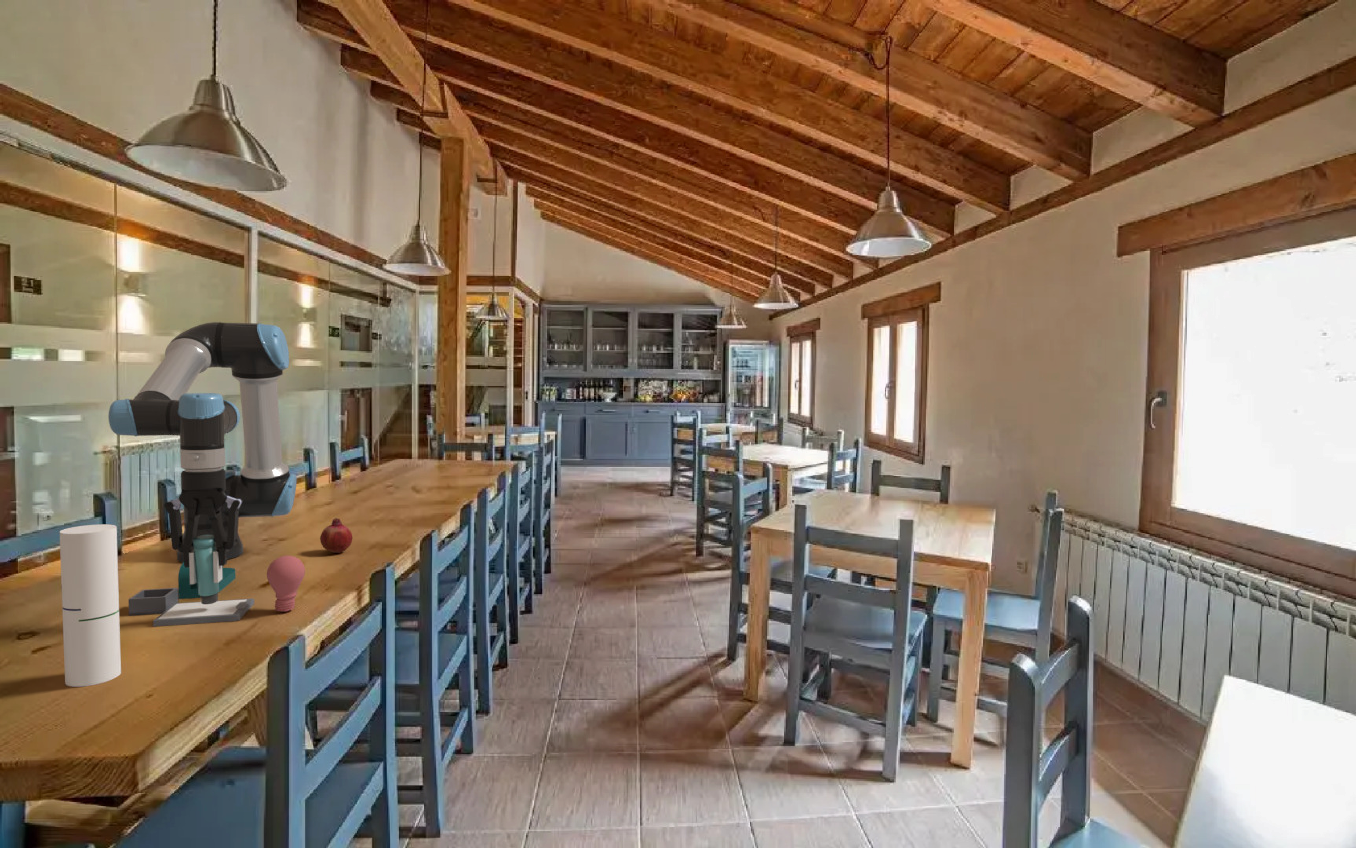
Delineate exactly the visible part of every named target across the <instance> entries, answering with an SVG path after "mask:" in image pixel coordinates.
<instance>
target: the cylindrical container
mask: <svg viewBox="0 0 1356 848" xmlns="http://www.w3.org/2000/svg"><path fill="white" fill-rule="evenodd" d="M117 530H118V529H117V525H114V524H106V523H105V524H104V523H103V524H86V525H79V526H72V527H68V528H65V529H61V530H60V531H59V549H60V550H59V551H60V552H59V553H60V579H61V580H60V581H61V605H62V608H61V609H62V633H63V634H62V635H63V655H64V656H63V657H64V659H63V660H64V662H63V663H64V684H65V686H68V687H72V688H73V687H74V688H77V687H78V688H79V687H88V686H94V685H99V684H103V683H106V682H109V681H111V680H113V679H115V678H117V677H119V676H120V675H121V674H122V665H121V664H122V663H121V660H122V659H121V658H122V657H121V633H120V632H121V629H120V602H119V601H120V599H119V598H120V597H119V595H120V594H119V567H118V566H119V564H118V562H119V561H118V535H117Z"/></svg>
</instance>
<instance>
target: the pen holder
mask: <svg viewBox="0 0 1356 848" xmlns="http://www.w3.org/2000/svg"><path fill="white" fill-rule="evenodd" d="M175 603H179V592H178V587H170V588H167V587H165V588H151V589H141V590H140V591H138V592H137V593H135V594H134V595H132V596H131V597H129V598H128V616H130V617H132V616H142V615H143V616H145V615H158V614H159V615H161V614H162V613H163V612H165V611H166V610H167V609H168V608H170V607H171V606H172V605H174V604H175Z"/></svg>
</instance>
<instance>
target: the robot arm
mask: <svg viewBox="0 0 1356 848" xmlns="http://www.w3.org/2000/svg"><path fill="white" fill-rule="evenodd" d="M288 346H289V345H288V342H287V339H286V336H285V334H284V332H283V330H282V328H281V327H279V326H278V325H274V324H266V323H265V324H264V323H258V322H257V323H253V322H252V323H251V322H250V323H249V322H248V323H247V322H244V323H243V322H221V321H220V322H217V321H212V322H205V323H202V324H199V325H196V326H193V327H191V328H189V329H186V330H185V331H183V332H181V333H180V334H178V335H177V336H175V337H174V338H173V339H172V340H171V341H170V342H169V344H168V345H167V346H166V348H165V351H164V352H165V353H164V356H165V357H164V358H163V359H162V361H161V362H160V363H159V365H158V366H157V368H156V369H155V370H154V372H153V373H152V374H151V375H150V377H149V379H148V380H147V381H146V382H145V383H144V385H143V386H142V387H141V389H140V390H139V391H138V393H137V394H136V395H135V397H134V398H133V399H129V398H125V399H117V400H114V401H113V402H112V403H111V404H110V406H109V410H108V424H109V427H110V430H111V432H113V434H116V435H119V436H130V437H131V436H132V437H139V436H140V437H142V436H143V437H144V436H148V437H149V436H151V437H152V436H153V437H154V436H179V446H180V447H179V448H180V449H179V451H180V452H179V454H180V456H179V457H180V469H183V470H182V471H181V472H180V488H181V490H180V491H181V492H180V494H179V496H178V498H176V499H170V500H169V501H166V502H165V503H164V505H163V506H164V509H166V512H167V513H168V520H169V529H170V540H171V548H172V550H174V551H176V557H177V558H176V560H177V561H179V562H181V563H183V562H184V566H185V568H186V567H189V568H190V584H195V583H196V582H197V572H196V561H195V551H194V546H193V539H194V538H195V537H198V536H202V535H214V538H215V542H216V545H215V546H216V550H215V551H214V552H213V571H214V583H218V582H220V581H221V580H222V566H223V567H224V566H226V565H227V563H228V560H230V559H234V558H237V557H240V556H242V555H243V554H244V544H243V542H242V540H241V537H240V534H239V518H254V517H255V518H257V517H258V518H259V517H263V518H264V517H271V518H273V517H278V516H286V515H289V513H290V512H291V511H292V508H293V505H294V502H295V497H296V491H297V475H296V474H294V473H290V468H289V466H288V465H287V464H285V463H284V462H283V454H282V439H281V437H282V436H281V424H280V410H279V409H280V408H279V406H280V405H279V395H278V393H279V392H278V380H279V379H280V378H281V377H282V376H283V374H284V370H287V369H288V368H289V366H290V358H289V357H290V356H289V355H290V352H289V347H288ZM210 368H224V369H231V376H232V377H233V378H234V379H235V380H237V381H238V383H239V391H240V393H239V394H240V403H241V413H240V410H239V408H238V407H237V406H236V404H234V403H233V402H232V401H229V400H225V399H224V398H223V395H222V394H220V393H215V392H214V393H213V392H194V393H193V392H191V393H188V391H189V389H190V388H191V386H193V383H194V381H195V380H196V379H197V377H198V376H199V374H202V373H204V372H205V371H206V370H208V369H210ZM241 418H242V428H243V429H242V431H243V439H244V451H245V452H244V453H245V462H246V463H245V464H246V465H245V466H244V467H243V468H242V469H241V470H240V475H239V474H238V475H236V472H235V471H234V469H224V467H225V466H226V457H225V456H226V452H225V435H226V434H229V433H231V432H232V431H233V430H234V429H235V428H237V426H238V425H239V423H240V421H241ZM182 506H183V521H184V522H183V524H184V525H182V515H181V510H180V509H181V508H182ZM183 527H184V528H183ZM183 529H184V531H183Z"/></svg>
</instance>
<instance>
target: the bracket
mask: <svg viewBox="0 0 1356 848" xmlns="http://www.w3.org/2000/svg"><path fill="white" fill-rule="evenodd" d="M177 576H178V577H177V580H178V581H177V583H178V585H177V586H178V587H177V588H178V600H186V599H187V600H188V599H201V596H200V595H199V594H198V583H197V582H196V583H195V584H190V568H189V567H186V568H185V566H184V562H181V565H180V567H179V570H178V575H177ZM236 576H237V575H236V569H235V568H233V567H224V566H222V580H221V581H220V582H219V592H218V594H219V593H220V592H221V591H222V590H224V589H225V588H226V587H227V586H229V584H231V583H232V582H233V581H235V579H237V578H236Z"/></svg>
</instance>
